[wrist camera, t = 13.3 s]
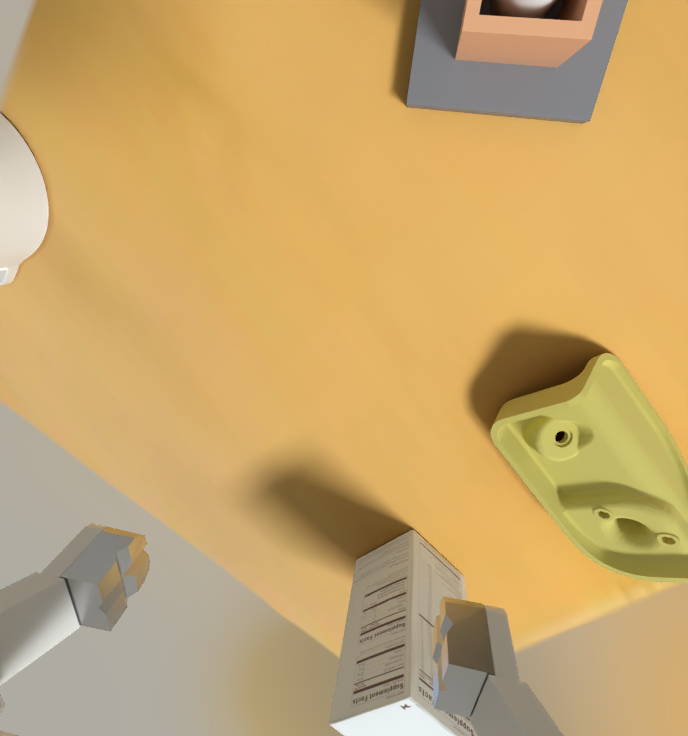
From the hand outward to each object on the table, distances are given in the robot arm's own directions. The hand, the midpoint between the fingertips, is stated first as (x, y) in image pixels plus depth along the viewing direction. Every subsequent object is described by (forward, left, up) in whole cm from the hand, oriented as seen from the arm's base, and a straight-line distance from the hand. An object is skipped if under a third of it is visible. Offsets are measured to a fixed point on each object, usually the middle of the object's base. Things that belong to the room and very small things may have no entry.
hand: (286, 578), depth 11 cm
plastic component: (+21, -12, -28) cm, 37 cm away
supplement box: (+8, -32, -28) cm, 43 cm away
